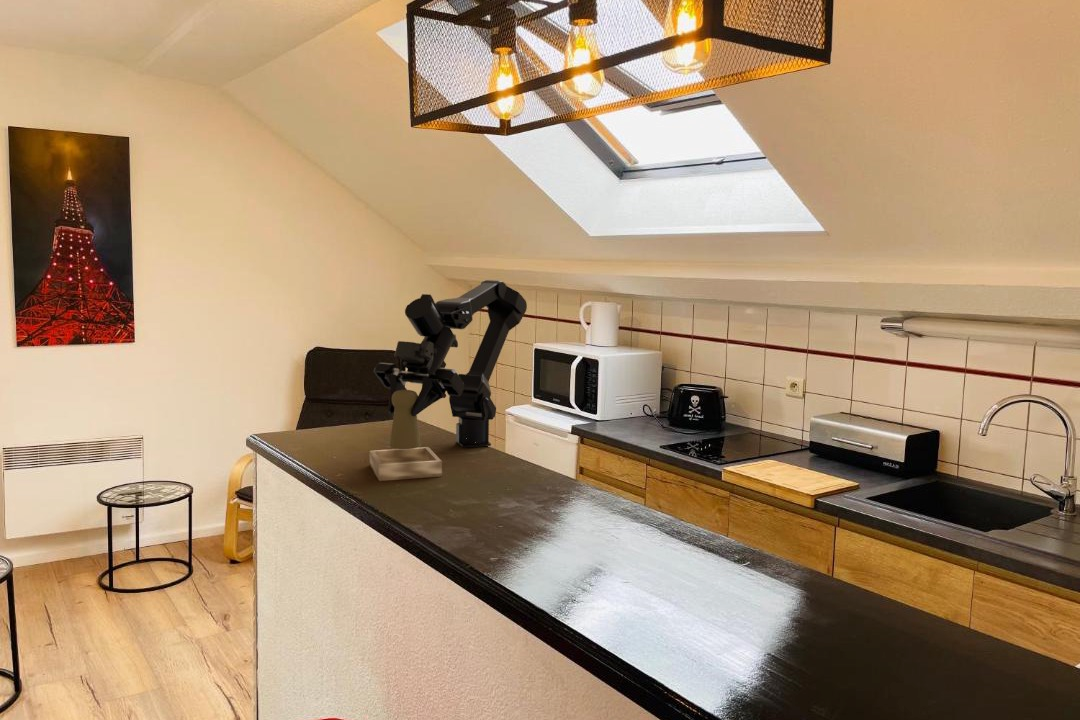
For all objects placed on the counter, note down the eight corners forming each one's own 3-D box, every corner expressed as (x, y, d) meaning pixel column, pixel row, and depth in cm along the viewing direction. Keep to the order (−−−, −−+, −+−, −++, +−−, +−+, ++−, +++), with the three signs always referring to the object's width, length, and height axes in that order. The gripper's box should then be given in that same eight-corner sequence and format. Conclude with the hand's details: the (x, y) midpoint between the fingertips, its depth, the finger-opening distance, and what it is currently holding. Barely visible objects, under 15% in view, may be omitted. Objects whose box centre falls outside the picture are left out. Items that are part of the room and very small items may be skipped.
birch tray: (428, 461, 173) (428, 446, 173) (441, 476, 162) (441, 461, 162) (369, 465, 169) (369, 450, 169) (379, 481, 158) (379, 465, 158)
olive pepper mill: (383, 446, 164) (382, 391, 163) (403, 440, 169) (402, 386, 168) (407, 450, 161) (407, 394, 160) (427, 444, 166) (426, 389, 165)
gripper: (378, 323, 170) (343, 385, 161) (456, 328, 161) (423, 394, 153) (402, 356, 178) (370, 417, 170) (477, 363, 169) (447, 427, 161)
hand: (401, 413), depth 163 cm, fingers closed on olive pepper mill, 5 cm apart
